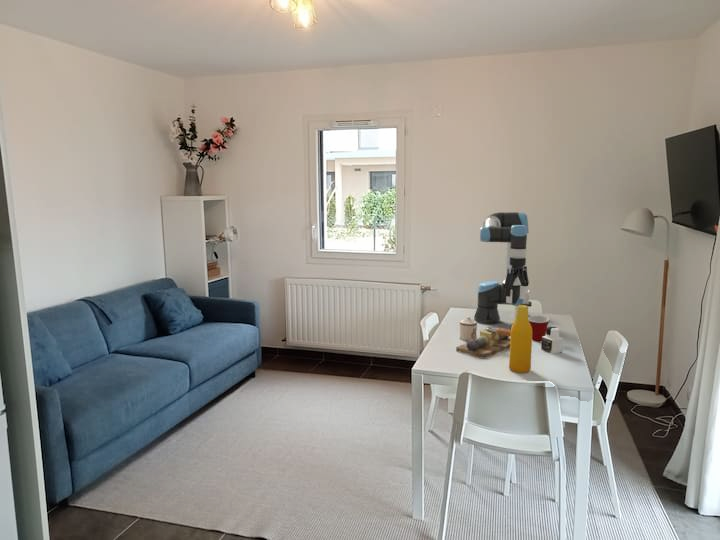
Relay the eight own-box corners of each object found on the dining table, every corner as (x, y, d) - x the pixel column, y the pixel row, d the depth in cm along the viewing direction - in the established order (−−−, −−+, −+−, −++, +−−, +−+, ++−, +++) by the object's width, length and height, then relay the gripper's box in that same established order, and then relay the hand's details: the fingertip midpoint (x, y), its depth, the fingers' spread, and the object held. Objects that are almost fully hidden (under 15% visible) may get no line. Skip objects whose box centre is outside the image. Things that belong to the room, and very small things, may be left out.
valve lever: (485, 330, 275) (485, 327, 275) (488, 329, 277) (488, 325, 277) (509, 336, 265) (509, 332, 265) (512, 335, 267) (513, 331, 267)
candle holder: (542, 313, 347) (543, 287, 344) (543, 322, 324) (544, 295, 321) (501, 310, 354) (502, 285, 352) (499, 319, 331) (500, 293, 329)
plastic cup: (523, 340, 288) (524, 318, 286) (532, 336, 296) (533, 314, 294) (543, 344, 281) (544, 321, 279) (552, 340, 289) (553, 317, 287)
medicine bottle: (540, 350, 272) (542, 326, 270) (552, 348, 275) (553, 325, 273) (551, 354, 266) (552, 330, 264) (562, 352, 268) (564, 328, 266)
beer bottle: (529, 367, 248) (532, 304, 243) (531, 374, 239) (534, 309, 234) (508, 365, 250) (511, 303, 245) (509, 372, 241) (512, 308, 236)
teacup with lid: (474, 341, 286) (475, 320, 284) (457, 339, 290) (458, 318, 288) (479, 335, 297) (480, 314, 295) (462, 333, 301) (463, 313, 299)
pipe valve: (492, 337, 293) (493, 321, 292) (519, 344, 282) (520, 327, 280) (456, 350, 271) (456, 333, 270) (483, 358, 260) (484, 339, 258)
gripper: (523, 254, 278) (521, 296, 281) (497, 258, 261) (495, 303, 265) (537, 255, 272) (535, 298, 276) (511, 260, 256) (509, 306, 260)
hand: (515, 300), depth 270 cm, fingers open, 12 cm apart
